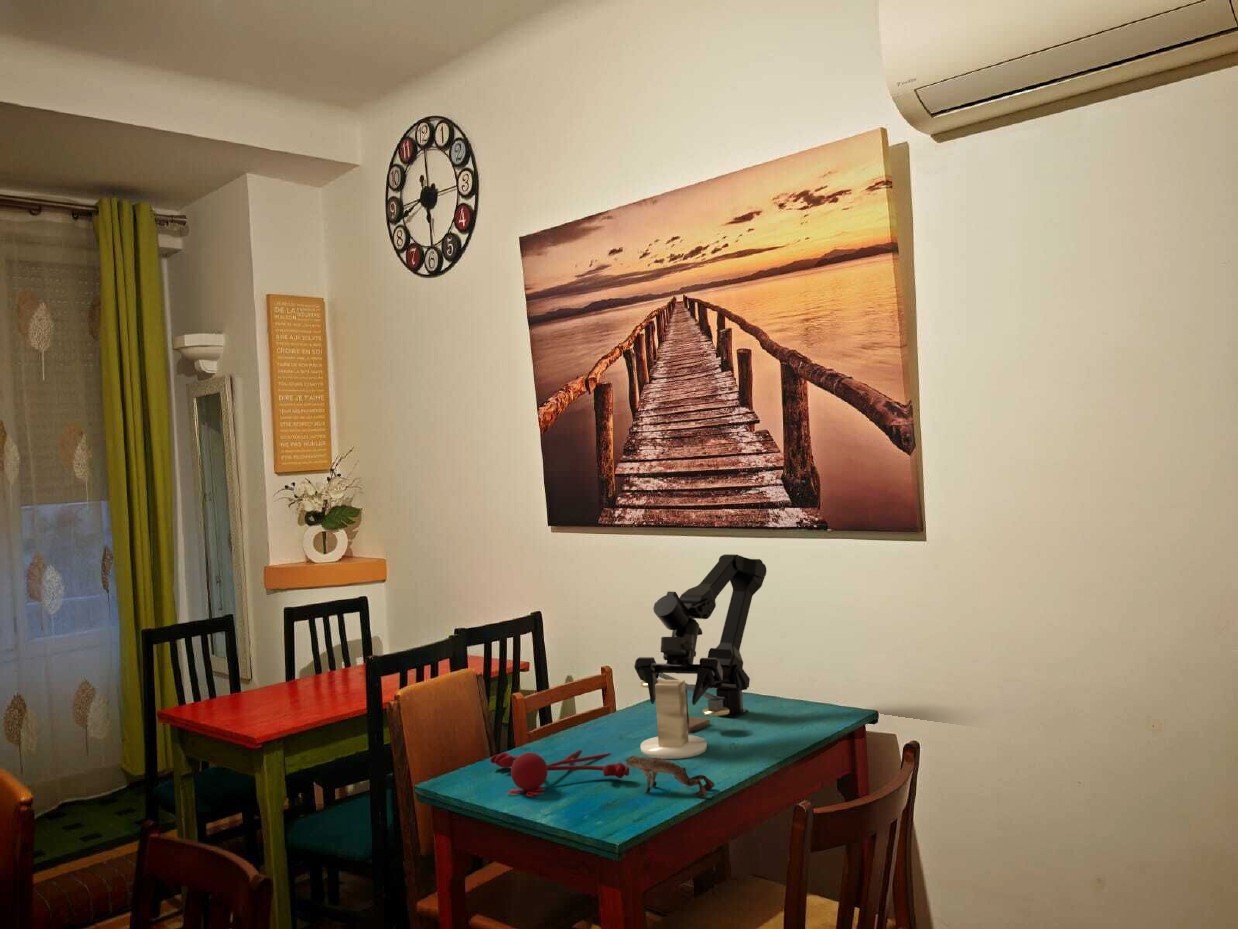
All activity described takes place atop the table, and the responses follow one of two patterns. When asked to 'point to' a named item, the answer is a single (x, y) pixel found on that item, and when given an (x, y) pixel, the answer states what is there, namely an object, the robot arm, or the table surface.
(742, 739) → the table surface
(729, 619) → the robot arm
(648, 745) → the saucer
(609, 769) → the toy
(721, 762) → the table surface
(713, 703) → the balance
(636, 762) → the toy
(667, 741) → the birch block
